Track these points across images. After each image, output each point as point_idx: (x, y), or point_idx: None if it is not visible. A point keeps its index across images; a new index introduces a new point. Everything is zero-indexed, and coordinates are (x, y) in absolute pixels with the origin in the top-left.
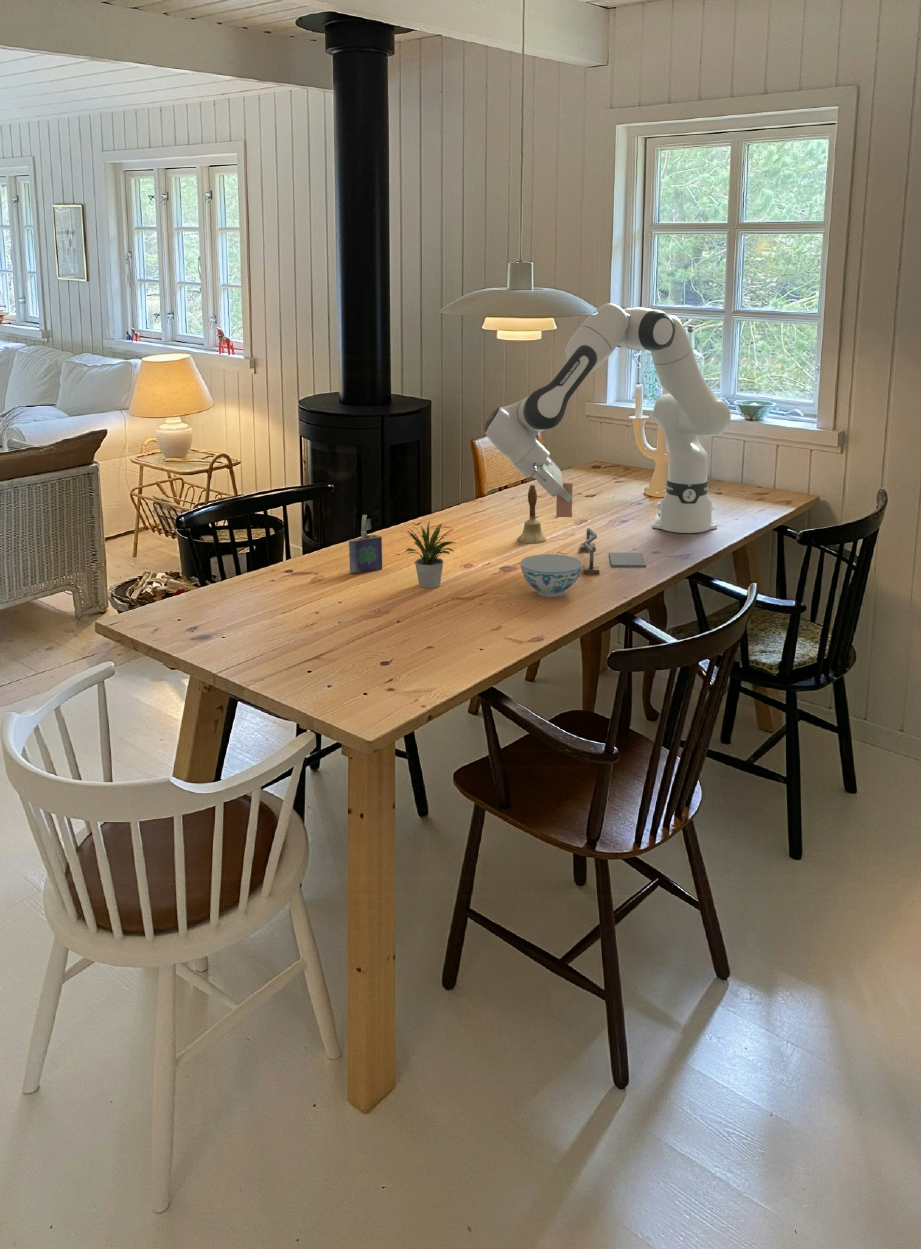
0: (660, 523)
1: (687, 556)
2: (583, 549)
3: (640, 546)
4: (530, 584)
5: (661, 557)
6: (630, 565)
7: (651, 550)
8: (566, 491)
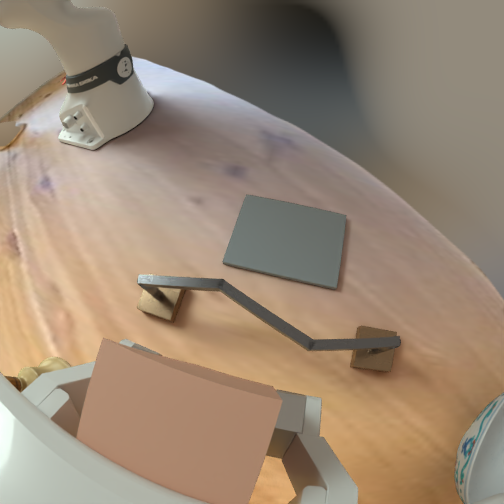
0: (102, 135)
1: (276, 136)
2: (174, 314)
3: (182, 185)
4: (492, 480)
5: (273, 171)
6: (342, 246)
7: (217, 174)
8: (340, 462)
